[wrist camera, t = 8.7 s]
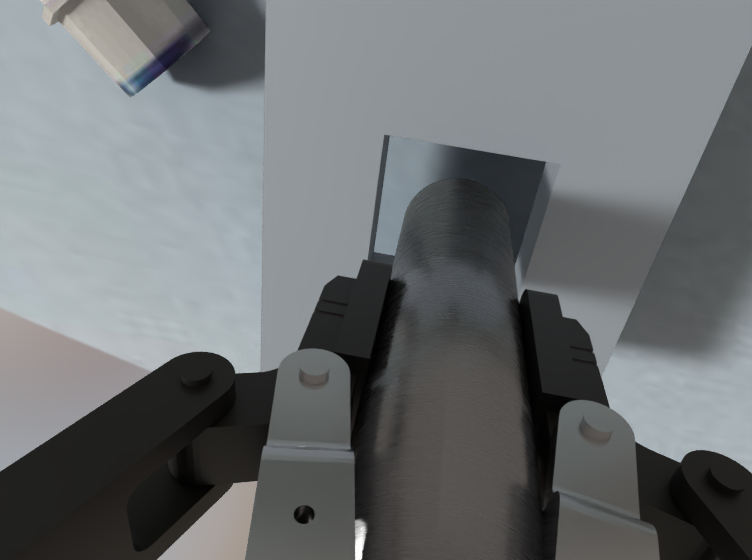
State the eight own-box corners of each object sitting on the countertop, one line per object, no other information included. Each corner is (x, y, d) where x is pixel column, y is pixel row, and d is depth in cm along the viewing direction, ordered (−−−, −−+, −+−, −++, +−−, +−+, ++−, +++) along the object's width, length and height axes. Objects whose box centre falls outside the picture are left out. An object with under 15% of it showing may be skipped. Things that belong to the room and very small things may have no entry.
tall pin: (396, 263, 18) (299, 681, 8) (412, 169, 16) (313, 553, 6) (495, 281, 18) (521, 732, 8) (521, 188, 16) (598, 615, 6)
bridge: (305, 286, 28) (260, 383, 22) (330, -105, 19) (267, -118, 13) (549, 331, 27) (570, 443, 21) (690, -53, 18) (791, -43, 13)
